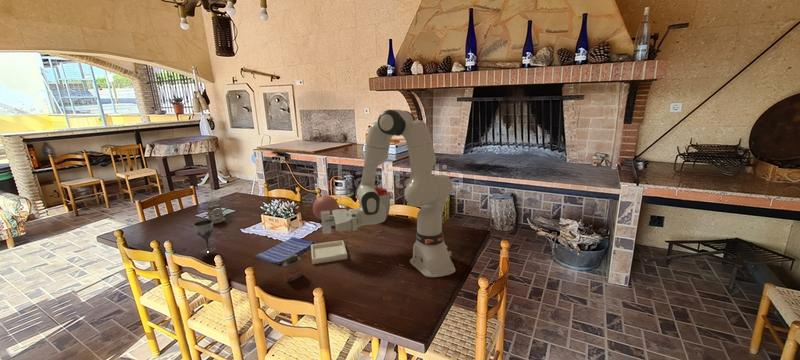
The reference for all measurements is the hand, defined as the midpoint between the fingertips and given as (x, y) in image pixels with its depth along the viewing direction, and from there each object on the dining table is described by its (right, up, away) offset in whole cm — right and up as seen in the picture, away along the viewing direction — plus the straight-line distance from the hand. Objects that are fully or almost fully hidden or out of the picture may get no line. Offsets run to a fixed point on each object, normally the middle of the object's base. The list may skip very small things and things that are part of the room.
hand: (324, 221), depth 158 cm
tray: (+1, -16, +4) cm, 17 cm away
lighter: (-9, -22, -15) cm, 29 cm away
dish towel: (-21, -17, +9) cm, 28 cm away
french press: (-78, -6, +52) cm, 94 cm away
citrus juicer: (+23, -4, +50) cm, 55 cm away
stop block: (+1, -5, +2) cm, 6 cm away
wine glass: (-61, -16, +12) cm, 64 cm away
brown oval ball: (-8, -5, +50) cm, 51 cm away
